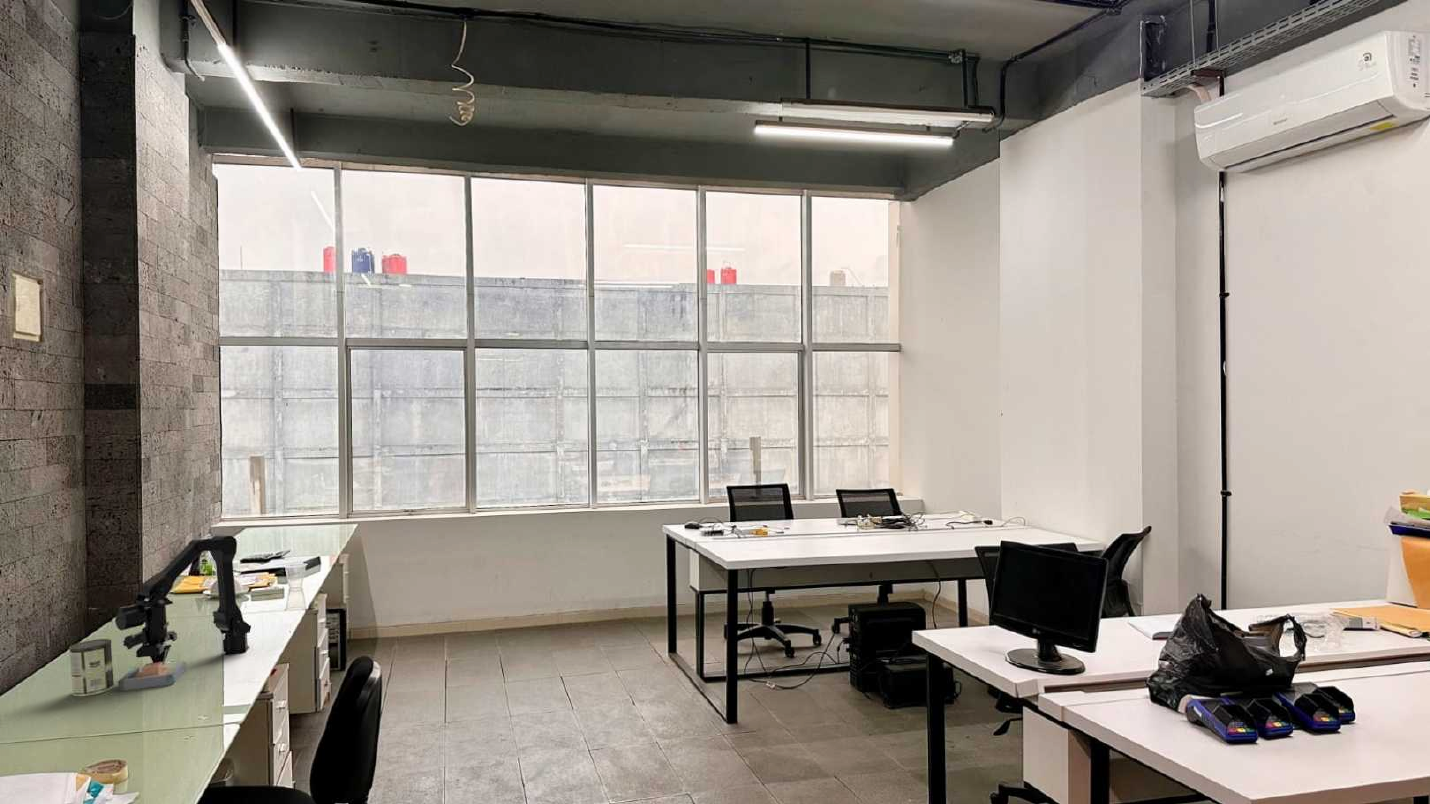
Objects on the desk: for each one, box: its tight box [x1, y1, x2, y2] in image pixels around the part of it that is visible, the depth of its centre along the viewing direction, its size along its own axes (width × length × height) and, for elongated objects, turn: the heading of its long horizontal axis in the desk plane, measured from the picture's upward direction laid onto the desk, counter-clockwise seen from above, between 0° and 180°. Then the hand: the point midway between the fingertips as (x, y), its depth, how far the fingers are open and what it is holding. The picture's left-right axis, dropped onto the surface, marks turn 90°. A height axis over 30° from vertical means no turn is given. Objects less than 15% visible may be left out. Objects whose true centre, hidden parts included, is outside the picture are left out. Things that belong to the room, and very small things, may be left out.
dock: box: [117, 661, 187, 692], centre depth 266 cm, size 14×14×3 cm
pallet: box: [135, 666, 175, 678], centre depth 267 cm, size 9×9×2 cm
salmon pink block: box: [140, 662, 164, 677], centre depth 266 cm, size 4×4×3 cm
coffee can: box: [68, 638, 115, 697], centre depth 260 cm, size 10×10×14 cm
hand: (159, 671), depth 272 cm, fingers closed
